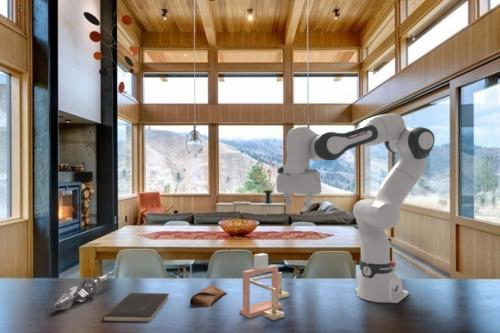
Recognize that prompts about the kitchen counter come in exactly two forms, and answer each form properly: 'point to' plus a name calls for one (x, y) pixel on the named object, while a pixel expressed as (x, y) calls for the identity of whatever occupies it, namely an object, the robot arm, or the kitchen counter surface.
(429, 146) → the robot arm
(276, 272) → the pink frame with handle
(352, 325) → the kitchen counter surface
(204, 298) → the sunglasses case
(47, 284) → the kitchen counter surface
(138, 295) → the hardcover book
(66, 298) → the spaceship
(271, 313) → the bent towel rail
